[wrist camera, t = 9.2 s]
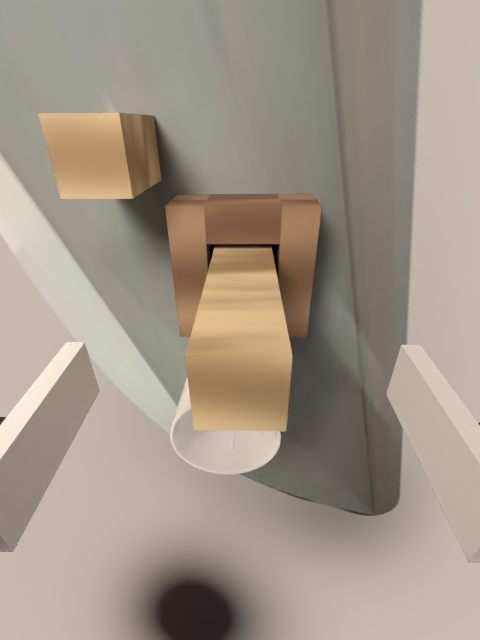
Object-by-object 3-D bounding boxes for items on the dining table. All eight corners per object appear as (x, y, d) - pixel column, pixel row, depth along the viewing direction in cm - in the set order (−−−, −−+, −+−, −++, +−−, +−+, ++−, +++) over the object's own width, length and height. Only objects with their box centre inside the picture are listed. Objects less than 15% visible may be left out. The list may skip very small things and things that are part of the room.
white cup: (244, 306, 29) (243, 382, 21) (286, 367, 33) (300, 453, 24) (174, 344, 32) (146, 426, 23) (219, 397, 35) (210, 486, 26)
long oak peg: (218, 234, 26) (185, 356, 12) (268, 233, 26) (292, 356, 12) (220, 280, 28) (193, 430, 14) (267, 280, 28) (286, 431, 14)
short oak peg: (94, 116, 22) (38, 113, 16) (153, 115, 22) (118, 112, 16) (107, 180, 24) (60, 198, 18) (161, 179, 24) (132, 198, 18)
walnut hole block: (176, 194, 25) (164, 205, 21) (311, 194, 24) (321, 205, 21) (188, 311, 30) (180, 336, 26) (299, 312, 30) (306, 337, 26)
